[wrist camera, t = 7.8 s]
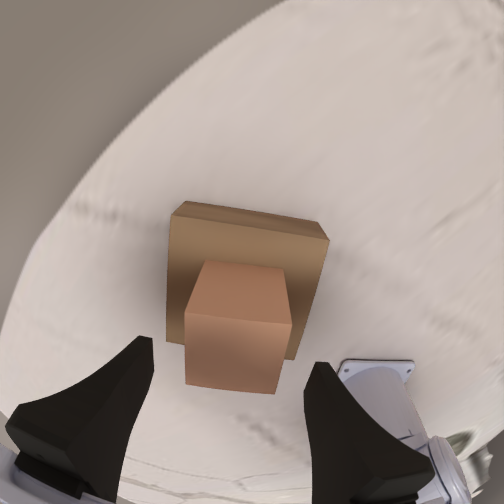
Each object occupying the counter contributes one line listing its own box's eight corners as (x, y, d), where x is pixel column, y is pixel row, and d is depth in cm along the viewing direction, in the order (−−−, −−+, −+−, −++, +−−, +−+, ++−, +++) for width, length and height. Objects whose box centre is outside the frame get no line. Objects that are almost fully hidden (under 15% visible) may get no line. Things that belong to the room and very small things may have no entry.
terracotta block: (271, 331, 19) (274, 394, 14) (202, 323, 19) (185, 384, 14) (283, 268, 17) (292, 324, 12) (205, 259, 17) (184, 312, 12)
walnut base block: (289, 327, 24) (294, 360, 20) (178, 310, 23) (166, 341, 20) (316, 220, 20) (329, 240, 17) (186, 199, 20) (170, 215, 16)
